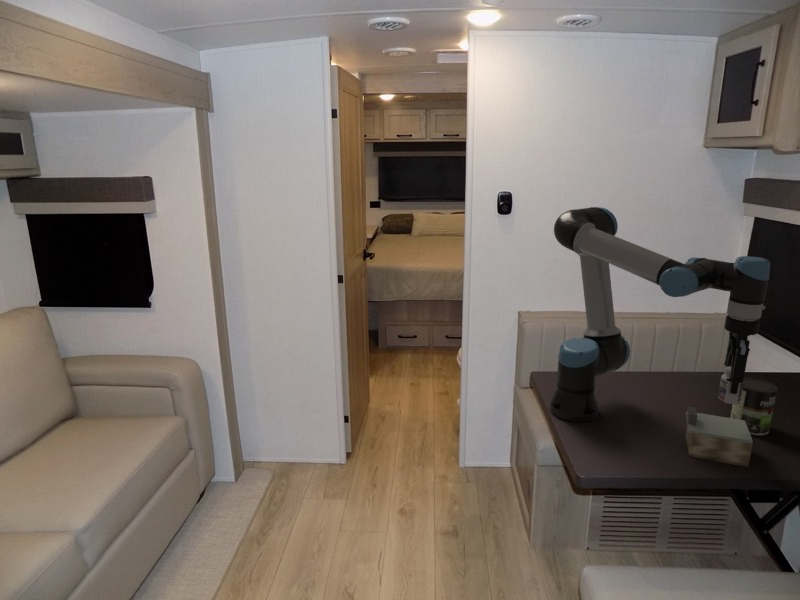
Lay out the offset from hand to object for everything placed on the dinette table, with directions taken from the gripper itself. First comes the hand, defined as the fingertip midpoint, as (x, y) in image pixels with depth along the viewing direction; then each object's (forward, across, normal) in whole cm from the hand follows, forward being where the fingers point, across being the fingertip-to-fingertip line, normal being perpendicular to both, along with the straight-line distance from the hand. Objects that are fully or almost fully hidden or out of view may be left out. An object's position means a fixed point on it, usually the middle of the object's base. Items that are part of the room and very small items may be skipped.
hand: (728, 398), depth 142 cm
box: (+16, 0, +1) cm, 16 cm away
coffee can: (+17, +19, -10) cm, 27 cm away
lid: (+9, 0, +1) cm, 9 cm away
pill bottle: (0, 0, 0) cm, 0 cm away
